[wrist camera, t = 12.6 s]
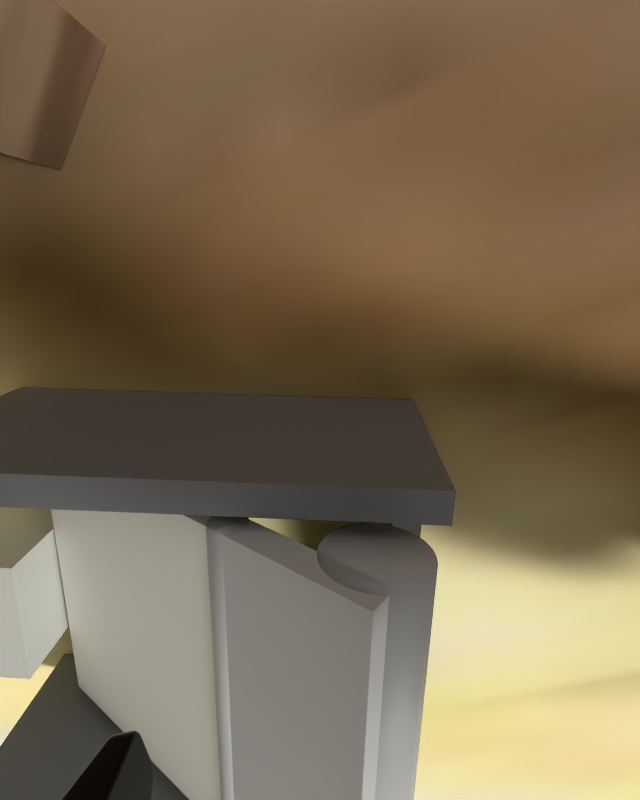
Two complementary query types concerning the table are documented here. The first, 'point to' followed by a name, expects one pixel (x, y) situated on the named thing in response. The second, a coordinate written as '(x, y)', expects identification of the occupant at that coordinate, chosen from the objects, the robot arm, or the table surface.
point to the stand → (43, 79)
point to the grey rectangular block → (29, 591)
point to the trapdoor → (254, 650)
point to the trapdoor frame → (195, 504)
